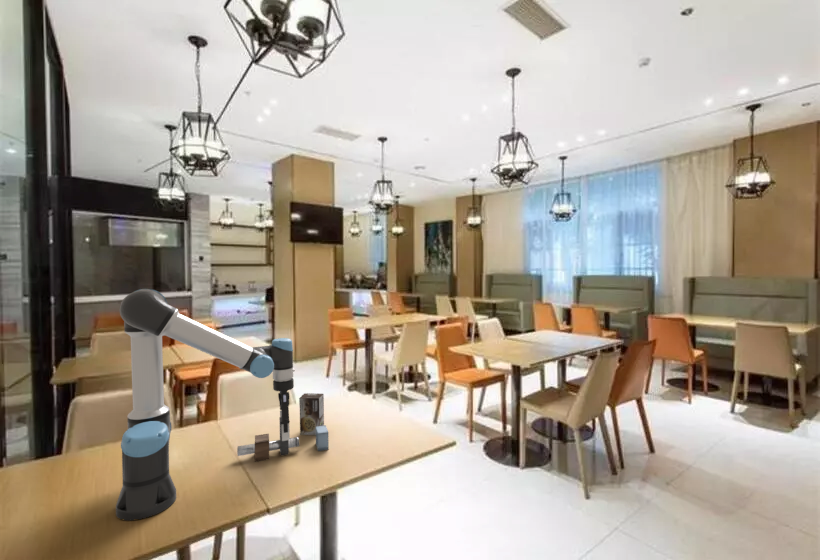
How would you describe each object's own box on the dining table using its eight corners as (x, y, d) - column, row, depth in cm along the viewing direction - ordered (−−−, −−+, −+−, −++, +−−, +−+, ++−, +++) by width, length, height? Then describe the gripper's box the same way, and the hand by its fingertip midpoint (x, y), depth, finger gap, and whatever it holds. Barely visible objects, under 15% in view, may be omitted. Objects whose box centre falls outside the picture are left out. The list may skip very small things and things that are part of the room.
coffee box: (324, 429, 172) (324, 393, 172) (319, 435, 166) (319, 398, 165) (304, 428, 173) (304, 392, 173) (299, 434, 167) (298, 397, 166)
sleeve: (269, 459, 145) (269, 440, 145) (254, 461, 143) (254, 443, 143) (269, 451, 151) (268, 433, 151) (255, 453, 150) (255, 435, 149)
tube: (237, 462, 142) (236, 427, 142) (238, 456, 147) (237, 422, 146) (299, 452, 150) (299, 419, 149) (298, 447, 154) (297, 414, 154)
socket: (328, 449, 153) (328, 431, 153) (318, 451, 151) (318, 433, 151) (325, 442, 159) (325, 425, 159) (315, 443, 158) (315, 426, 158)
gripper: (296, 386, 139) (297, 444, 140) (291, 369, 162) (292, 419, 163) (273, 389, 136) (275, 448, 137) (272, 371, 160) (273, 422, 160)
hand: (284, 433), depth 150 cm, fingers open, 13 cm apart
